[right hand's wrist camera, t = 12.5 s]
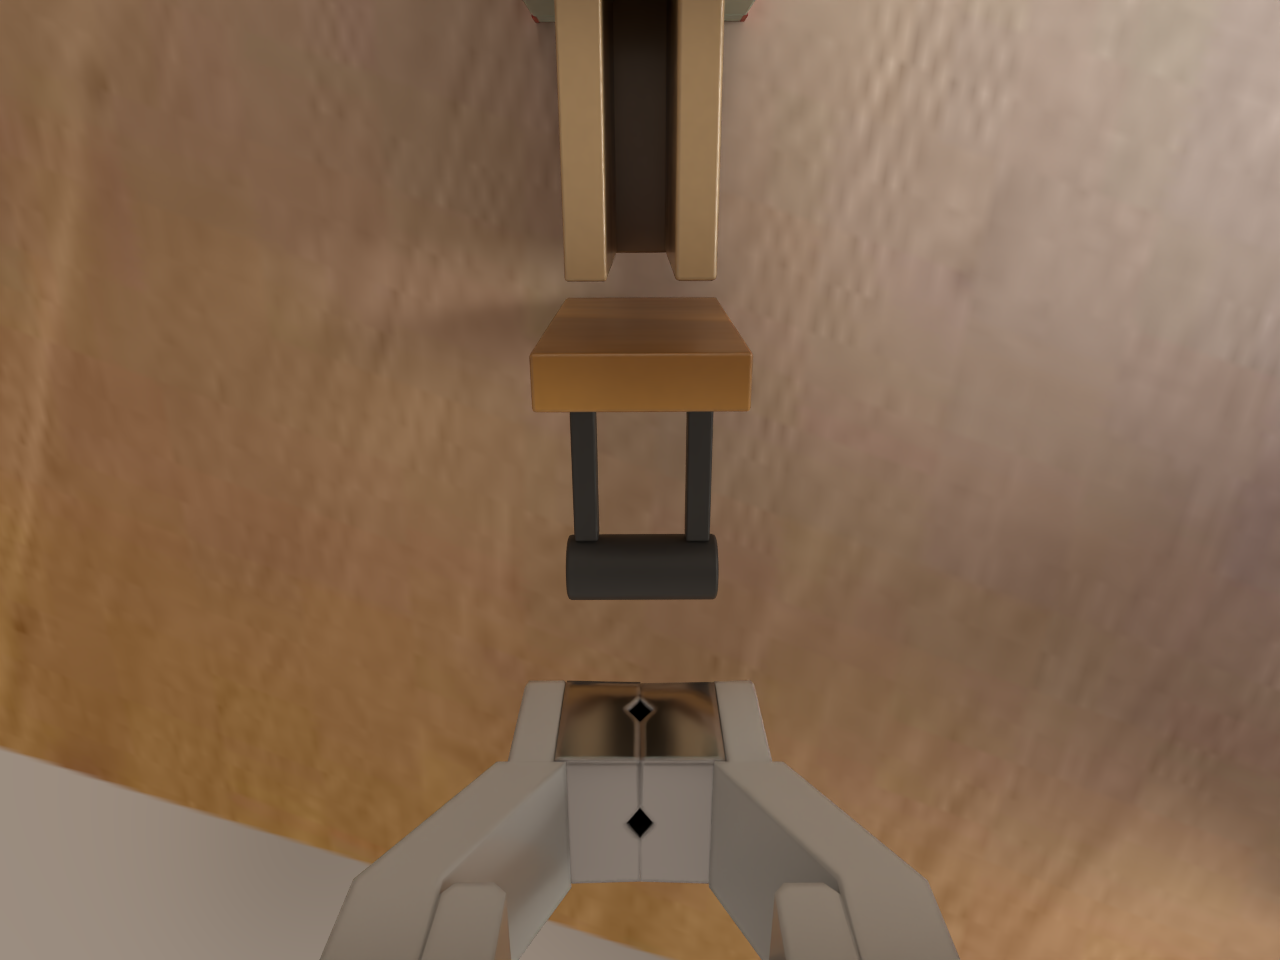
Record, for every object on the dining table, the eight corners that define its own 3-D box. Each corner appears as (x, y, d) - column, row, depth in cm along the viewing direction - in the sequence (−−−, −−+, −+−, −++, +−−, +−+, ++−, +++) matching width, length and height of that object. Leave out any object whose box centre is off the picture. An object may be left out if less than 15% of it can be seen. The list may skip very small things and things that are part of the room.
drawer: (710, 520, 25) (739, 662, 18) (573, 521, 25) (546, 662, 18) (735, -362, 17) (805, -765, 10) (540, -360, 17) (466, -761, 10)
